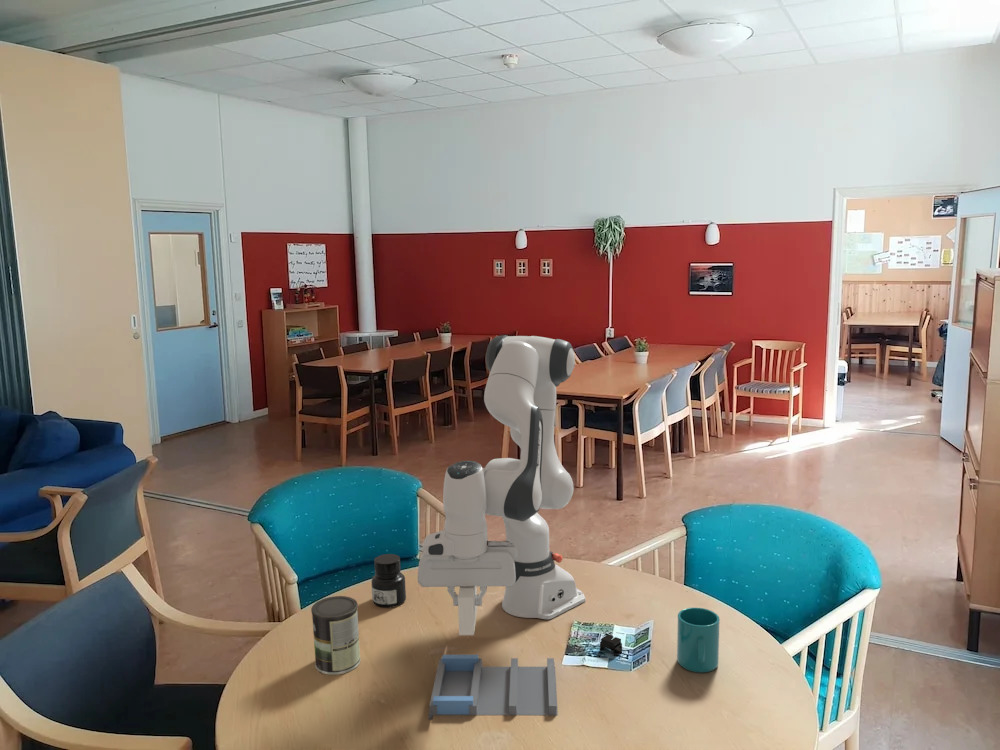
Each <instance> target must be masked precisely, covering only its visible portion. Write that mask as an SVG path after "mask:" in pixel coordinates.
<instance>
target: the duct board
mask: <svg viewBox="0 0 1000 750" xmlns="http://www.w3.org/2000/svg"><path fill="white" fill-rule="evenodd" d="M556 674H557V673H556V666H555V658H553V657H549V658H548V657H547V658H546V666H519V659H518V657H515V658H512V657H511V658H510V666H483V658H481V657H480V658H479V654H442V657H441V658H440V657H439V660H438V664H437V669H436V672H435V678H434V683H433V688H432V691H431V697H430V701H429V705H428V707H429V711H428V720H433V719H434V716H559V713H558V712H559V711H558V710H559V709H558V696H557V695H558V694H557V693H558V691H557V676H556Z"/></svg>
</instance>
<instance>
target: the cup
mask: <svg viewBox="0 0 1000 750" xmlns="http://www.w3.org/2000/svg"><path fill="white" fill-rule="evenodd" d="M720 620H721V619H720V616H719V615H718V614H717V613H716V612H714V611H713V610H710V609H707V608H703V607H688V608H684V609H681V610H680V611H679V612H678V613H677V632H676V633H677V635H676V636H677V638H676V639H677V640H676V641H677V642H676V644H677V645H676V660H677V663H678V664H679V665H680V667H681V668H684V669H685V670H687V671H689V672H693V673H700V674H703V673H709V672H712V671H714V670H715V669H716V668H717V667H718V665H719V654H720V653H719V651H720V649H719V648H720V623H721V622H720Z"/></svg>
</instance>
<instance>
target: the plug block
mask: <svg viewBox="0 0 1000 750" xmlns="http://www.w3.org/2000/svg"><path fill="white" fill-rule="evenodd" d="M477 587H478V586H470V587H459V591H458V594H457V595H458V606H457V607H458V608H457V609H458V611H457V613H458V635H459V636H475V629H476V620H477V612H478V606H475V595H478V593H477V591H478V589H477Z"/></svg>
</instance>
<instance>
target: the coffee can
mask: <svg viewBox="0 0 1000 750" xmlns="http://www.w3.org/2000/svg"><path fill="white" fill-rule="evenodd" d="M358 605H359V604H358V601H357V600H356V599H355V598H353V597H350V596H346V595H345V596H344V595H336V596H329V597H325V598H323V599H319V600H318V601H316V602H315V603H314V604H312V606H311V610H310V612H311V618H312V629H313V630H312V634H313V646H314V661H315V662H314V663H315V664H314V665H315V669H316V671H318V673H321V674H323V675H326V676H338V675H344V674H347V673H349V672H350V673H351V672H352V671H353V670H355V669H356V668H358V666H360V664H361V652H360V638H359V637H360V631H359V616H358V608H359V607H358Z"/></svg>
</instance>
